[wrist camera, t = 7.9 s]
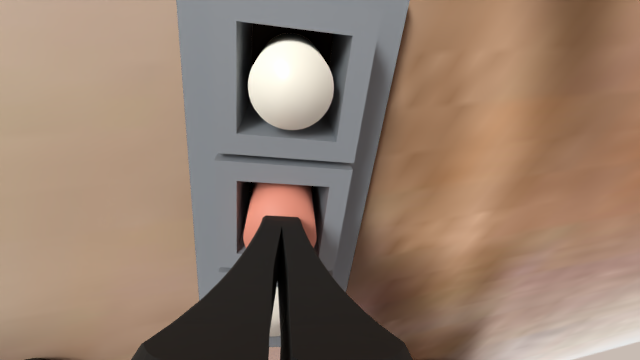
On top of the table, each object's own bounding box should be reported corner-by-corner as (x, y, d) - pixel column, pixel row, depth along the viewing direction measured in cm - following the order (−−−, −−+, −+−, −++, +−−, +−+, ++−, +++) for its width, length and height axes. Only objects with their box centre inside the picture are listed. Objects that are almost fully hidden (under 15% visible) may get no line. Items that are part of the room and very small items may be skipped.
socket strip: (402, -8, 14) (452, -14, 10) (340, 289, 22) (353, 356, 18) (182, -40, 13) (129, -64, 9) (203, 286, 21) (182, 357, 17)
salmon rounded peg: (312, 158, 16) (320, 209, 12) (307, 205, 17) (312, 266, 13) (255, 154, 16) (243, 205, 12) (253, 203, 17) (242, 264, 13)
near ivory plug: (325, 36, 14) (339, 49, 10) (317, 100, 15) (327, 133, 11) (260, 28, 14) (248, 37, 10) (258, 94, 15) (247, 126, 11)
